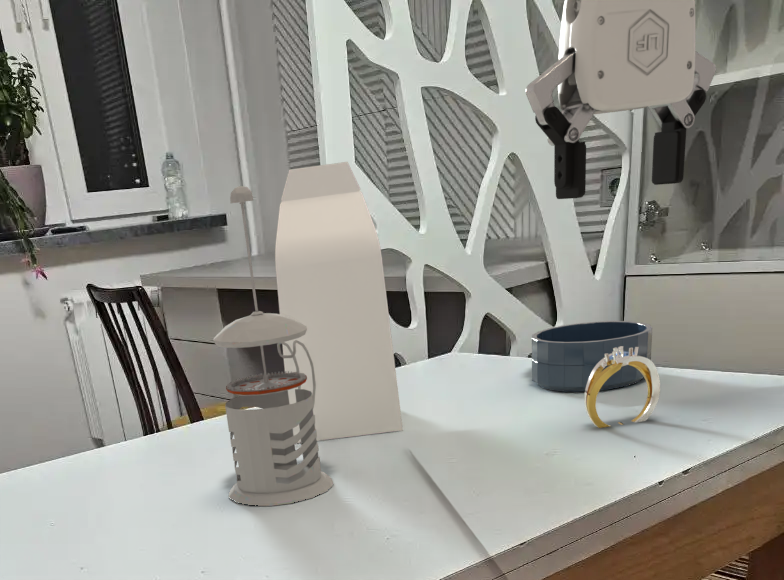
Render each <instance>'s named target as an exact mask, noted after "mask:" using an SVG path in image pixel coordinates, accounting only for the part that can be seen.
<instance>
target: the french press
mask: <svg viewBox="0 0 784 580" xmlns="http://www.w3.org/2000/svg"><path fill="white" fill-rule="evenodd" d="M229 200H230V204H237V203H239V205H240V208H241V216H242V222H243V230H244V237H245V245H246V252H247V259H248V267H249V274H250V282H251V289H252V296H253V304H254V310H255V311H252V313H251V314H250V315H247V316H244V317H241V318H237V319H235V320H233V321H231V322H230V323H228V324H227V325H225V326H224V327H223V328H222V329H221V330H220V331H219V332H218V333H217V334H215V336H214V337H213V339H212V341H213V343H214V344H215V345H216V347H219V348H225V349H226V348H227V349H239V348H241V349H243V348H254V347H260V354H261V363H262V369H263V373H259V374H258V373H257V374H253V375H249V376H244V377H241V378H240V377H238V379H237V378H236V379H235V380H233V381H230V382H228V383H227V385H226V387H225V390H226V391H227V392H228V393H229V394H231V395H232V394H233V395H236V396H237V397H236V396H235V397H233V398H231V399H229V400H228V401H226V402H225V406H224V407H225V414H226V420H227V421H226V422H227V428H228V432H229V437H230V440H229V441H230V446H231V448H232V449H231V450H232V457H233V458H232V459H233V460H232V461H233V462H234V463H233V464H234V471H235V475H236V483H234V484H233V485H232V487H231V489H230V490H229V491H230V492H229V491H228V498H229V497H230V498H231V499H233V500H235V501H236V502H239V503H242V504H241V505H244V504H248V505H247V506H249V505H255V506H254V507H272V506H280V505H289V504H295V503H298V501H299V502H302V501H306V500H309V499H313V498H316V497H318V496H320V495H322V494H324V493H326V492H328V491H329V490H330V489H331V488H332V487H333V486H334V481H333V478H332V477H331V476H330V475H328V474H327V473H326V472H324V471H323V470H322V468H321V459H320V457H321V456H319V451H320V449H319V443H318V441H316V438H317V431H316V429H315V415H313V408H314V404H315V391H316V381H315V374H314V366H313V362H312V360H311V357H310V355H309V352H308V350H307V348H306V347H305V345H304V344H303V343H301V342H299V341H298V340H295V341H294V342H293V351H292V350H291V348H290V346H289V345H288V344H287V343H285V342H286V341H289V340H293V339H296V338H299V337H301V336H303V335H305V333H306V331H307V327H306V326H305V325H303V324H301V323H300V322H298V321H296V320H294V319H293V318H291V317H287V316H283V315H280V313H274V312H273V313H271V312H266V313H265V312H264V311H261V310H259V308H258V300H257V294H256V293H257V292H256V286H255V278H254V270H253V265H252V257H251V249H250V241H249V235H248V234H249V233H248V226H247V219H246V212H245V202H252V201H254V196H253V191H252V190H251V189H250V188H249V187H247V186H244V185H243V186H242V185H238V186H236V187H234V189H233V190H232V191H231V192H230V196H229ZM296 343H298V344H299V345H301V346H302V347H303V348H304V350H305V352H306V354H307V356H308V359H309V361H310V365H311V369H312V380H313V395H312V392H311V391H308V390H305V389H301V385H302V384H303V383H305V382H306V380H307V376H306V375H305V374H304V373H300V372H299V367H298V363H297V360H296V357H295V354H296ZM275 344H276V347H277V353H278V355H279V357H281V358H282V359H284V358H292V357H293V360H294V363H295V366H296V372H292V371H291V372H290V373H289V371H288V373H287V372H286V371H285V370H284V371H281V372H280V371H278V373H277V372H276V371H274V373H273V371H272V372H271V373H269V372H267V365H266V360H265V351H264V346H270V345H275ZM282 344H283V345H285V346H286V347H287V348H288V350H289V351H290V353H291V355H283V353H282V350H281V345H282ZM297 387H298V389H295V395H296V403H294V404H289V396H288V390H290V389H293V388H297ZM252 407H254V408H255V409H242V408H252ZM298 425H299V428H300V431H299V433H298V434H296V435H294V436H293V428H294V427H296V426H298ZM300 439H301V443H300V444H301V446H300V447H299V448H297V449H296V444H298V443H297V442H298V441H299V440H300ZM301 456H302V459H303V460H302V461H301V462H300V463H298V461H297V459H298V458H300V457H301ZM237 465H238V466H237ZM328 489H329V490H328ZM319 494H320V495H319ZM317 495H318V496H317ZM315 496H316V497H315ZM231 499H230V500H231ZM305 499H306V500H305ZM294 502H295V503H294ZM256 505H258V506H256Z"/></svg>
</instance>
